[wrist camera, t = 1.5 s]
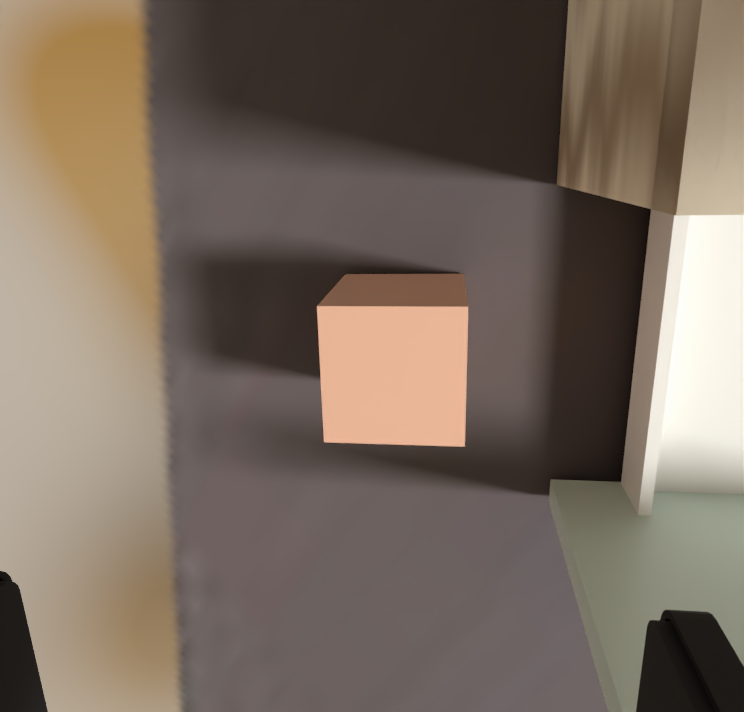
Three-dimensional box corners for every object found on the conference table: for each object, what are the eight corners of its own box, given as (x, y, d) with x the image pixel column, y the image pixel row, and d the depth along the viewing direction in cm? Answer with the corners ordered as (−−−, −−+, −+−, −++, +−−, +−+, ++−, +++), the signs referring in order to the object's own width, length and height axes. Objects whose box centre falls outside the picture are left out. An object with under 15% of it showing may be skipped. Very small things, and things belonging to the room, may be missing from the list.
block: (345, 274, 26) (316, 306, 21) (464, 273, 26) (468, 306, 20) (349, 384, 28) (324, 442, 22) (461, 386, 27) (464, 446, 22)
